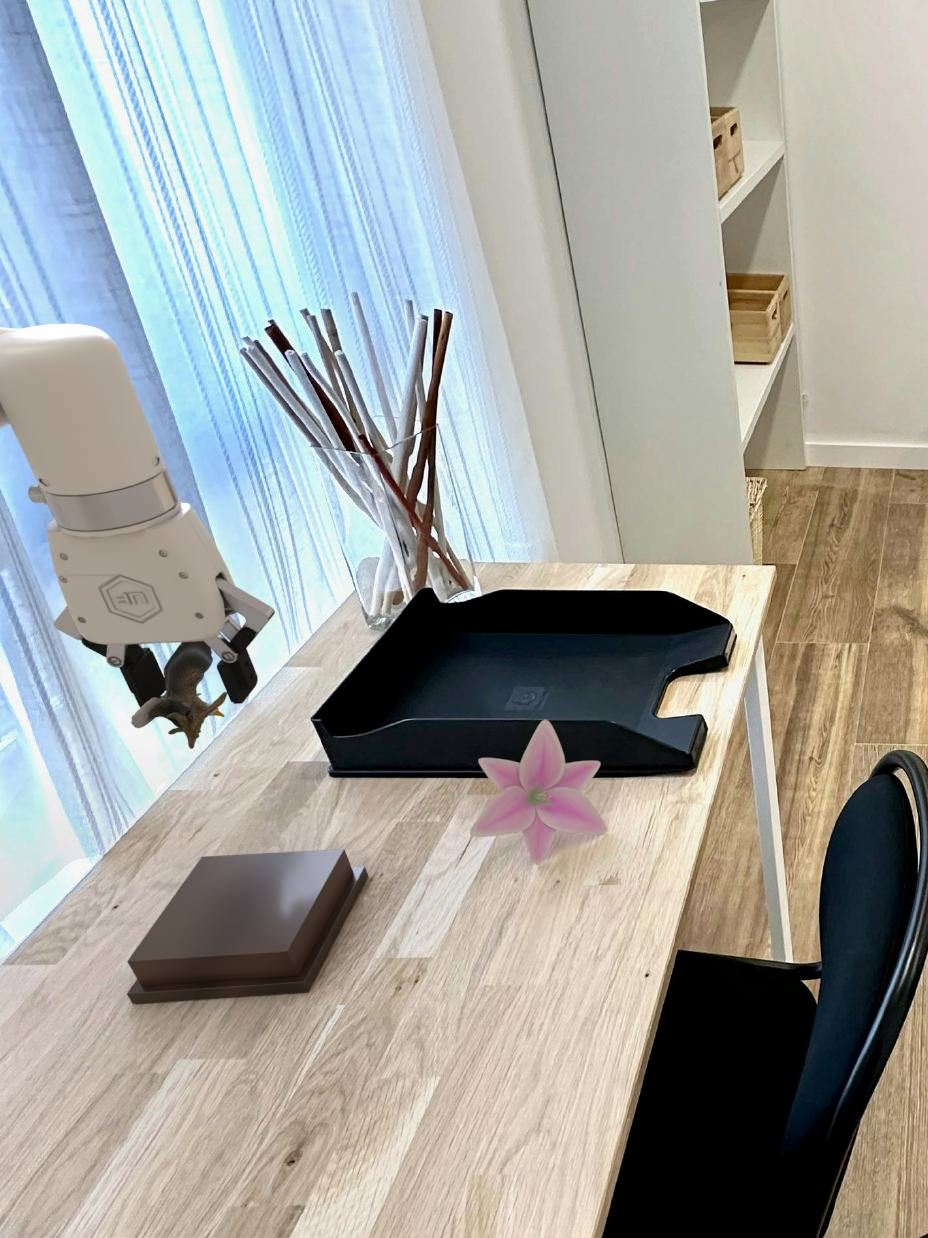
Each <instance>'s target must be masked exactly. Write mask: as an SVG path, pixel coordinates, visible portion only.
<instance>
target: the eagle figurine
mask: <svg viewBox="0 0 928 1238" xmlns="http://www.w3.org/2000/svg"><path fill="white" fill-rule="evenodd" d="M212 652H213V650H212V649H211V648H210V647H209V646H208V645H207V644H206V643H205V642H204V641H196V642H180V644H179V645H178V647H177V648H176V649H175V650H174V652H173V654H171V656H170V657H169V659H168V660H167V663H165V665H164V667H163V672H162V673H163V676H164V678H165V684H166V691H165V692H164V694H162V695H161V696H160V698H156V697H154V698H151V699H150V700H149V701H147V702H146V703H145V704H144V705H143V706H142V707H141V708H140V707H139V709H137V711H136V712H135V713H134V714H133V715H132V716H131V723H130V724H131V725H132V726H133V727H134V728H135V729H142V728H144V727H146V726H147V725H149V724H150V723H151V722H152V721H154V720H155V719H156V718H164V719H166V720H168V721H170V722H171V723H172V724H173V726H175V727H174V728H172V729H170V730H168V731H167V734H168V735H170V736H171V735H175V734H176V733H184V736H185V738H186V740H187V745H188V748H189V749H190V750H193V749H194V748H195V744H196V742H197V739H199V737H200V733H201V732H202V730H201V729H202V725H203V724H204V723H205V720H206V719H207V718H208V717H214V716H216V717H222V718H225V714H224V713H223V712H221V711H220V710H219V708H220V707H221V706H222V705H223V704H224V703H225V701H226V698H227V696H228V694H227V691H223V692H222V693H221V694H220V695H219V696H218V698H216V699H215V700H213V702H212V703H210V702H209V703H208V702H206V701H204V700H203V699H201V698H200V697H199V696H201V695H202V693H201V692H198V691H197V687H198V685H199V684H200V683H201V681H203V679H204V677H205V673H206V672H208V671H209V669H210V668H211V666H212V664H213V663H214V662H213V661H214V657H213V656H212V654H213V653H212Z"/></svg>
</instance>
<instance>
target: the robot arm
mask: <svg viewBox="0 0 928 1238" xmlns="http://www.w3.org/2000/svg"><path fill="white" fill-rule="evenodd" d="M146 415H147V414H146V412H145V410H144V408H143V405H142V403H141V400H140V398H139V395H138V393H137V391H136V388H135V385H134V383H133V379H132V378H131V376H130V373H129V371H128V368H127V365H126V363H125V360H124V358H123V355H122V354H121V351H120V349H119V347H118V345H117V343H116V342H115V340H114V339H113V338H112V337H111V336H110V335H109V334H108V333H107V332H105V331H104V330H102V329H99V328H97V327H95V326H91V325H86V324H78V323H77V324H76V323H75V324H74V323H53V324H42V325H34V326H33V325H32V326H28V327H23V328H13V327H12V328H11V327H2V326H0V429H2V428H4V427H6V426H8V425H10V427H11V429H12V431H13V433H14V436H15V438H16V439H17V441H18V444H19V446H20V448H21V450H22V452H23V454H24V456H25V458H26V461H27V463H28V465H29V468H30V469H31V471H32V473H33V476H34V478H35V479H36V482H37V484H32V485H30V486H29V488H28V489H27V490H28V491H27V495H28V498H29V500H30V501H31V502H32V503H34V504H44V505H47V507H48V509H49V512H50V513H51V514H52V517H53V518H54V519H53V520H51V521H50V522H48V523H47V524H46V535H47V541H48V547H49V553H50V557H51V558H50V559H51V561H52V566H53V570H54V572H55V576H56V579H57V582H58V585H59V588H60V590H61V593H62V596H63V599H64V601H65V604H66V606H65V608H63V610H62V611H61V612H60V614H59V615H58V616H57V618H56V619H55V620H54V622H53V626H54V628H55V629H57V630H58V631H60V632H62V633H63V634H65V635H67V636H69V637H71V638H73V639H75V640H76V641H81V644H82V646H84V647H85V648H86V649H89V650H91V651H93V652H94V653H96V654H98V655H100V656H102V657H104V658H105V660H106V663H107V664H108V666H111V667H112V668H115V669H116V668H117V669H119V670H120V673H121V674H122V677H123V679H124V681H125V683H126V685H127V688H128V690H129V691H130V693H131V694H133V697H134V699H135V701H136V703H137V705H138V706H139V709H140V708H141V707H142V706H143V705H144V704H145V703H146V702H147V701H149V700H150V699H151V698H154V697H156V698H160V696H163V695H164V694H165V693H166V684H165V678H164V672H162V669H161V667H160V665H159V664H160V663H158V660H157V658H156V655H155V653H154V652H153V651H152V650H151V648H150V647H142V645H146V644H147V645H149V644H175V643H181V642H196V641H204V642H205V643H206V644H207V645H208V646H209V647H210V648H211V651H212V652H213V653H214V654H215V655H217V656H218V657H219V659H220V660H219V662H218V663H217V664H216V669H217V672H218V674H219V677H220V679H221V681H222V684H223V687H224V688H225V692H227V696H228V698H229V700H230V702H231V703H232V704H233V705H238V704H239V705H240V704H243V703H244V702H245V701H246V700H247V698H248V697H249V696H250V695H251V693H252V692H253V690H254V689H255V688H256V686H257V684H258V681H259V680H258V679H259V678H258V674H257V672H256V669H255V666H254V664H253V661H252V659H251V656H250V654H249V651H248V647H249V646H250V644H251V643H252V642H253V641H254V640H255V639H256V638H257V636H258V635H259V634H260V633H261V632H262V631H263V629H264V628H265V627H266V625H267V624H268V623H269V622H270V620H271V619H272V618H273V617H274V615H275V614H276V613H275V612H276V611H275V609H274V607H272V606H271V605H269V604H267V603H265V602H263V601H262V600H260V599H259V598H257V597H255V596H253V595H251V594H250V593H249V592H246V591H245V590H243V589H242V588H239V587H238V586H236V584H235V582H234V579H233V577H232V575H231V572H230V570H229V568H228V565H227V564H226V562H225V560H224V558H223V556H222V553H221V552H220V551H219V548H218V546H217V544H216V543H215V541H214V539H213V537H212V536H211V534H210V533H209V531H208V529H207V527H206V526H205V525H204V523H203V522H202V520H201V519H200V517H199V516H198V514H197V513H196V511H195V510H194V508H193V507H192V506H191V504H190V503H188V502H182V501H181V500H180V497H179V496H178V493H177V490H176V488H175V485H174V483H173V481H172V478H171V475H170V473H169V470H168V468H167V466H166V463H165V460H164V458H163V456H162V452H161V450H160V448H159V446H158V442H157V440H156V438H155V436H154V433H153V430H152V428H151V425H150V422H149V420H148V418H147V416H146ZM236 613H237V614H239V615H241V616H242V617H244V619H245V622H244V624H243V625H242V626H240V625H239V624H238V623H237V621H235V619H233V617H231V616H232V615H234V614H236ZM227 639H228V640H229V641H228V640H227Z"/></svg>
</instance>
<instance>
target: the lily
mask: <svg viewBox="0 0 928 1238" xmlns="http://www.w3.org/2000/svg"><path fill="white" fill-rule="evenodd" d="M478 764H479V766H480V768H481V769H482V771H483V772H484V774H485V775H486V777H487V778H488V779H489V781H490V782H491V783H492V784H493V785H494V786H495V788H496V789H497V790H498V791H499V793H498V794H497V795H496V796H495V797H494V799H492V801H491V802H490V803H489V804H488V805H487V807H486V808H485V809H484V810H483V811H482V813H480V815H479V816H478V818H477V819H476V820H475V822H474V823H473V825H472V826H471V828H470V830H469V835H470V836H471V837H474V838H486V837H497V836H503V835H504V836H505V835H511V834H516V833H519V832H522V836H523V839H524V842H525V845H526V848H527V851H528V852H529V855H530V858H531V859H532V861H533V863H534V864H535V865H536V866H540V865H541V863H543V860H544V859H546V856H547V854H548V852H549V851H550V848H551V846H552V843H553V842H554V839H555V835H556V833H557V831H559V832H563V833H569V834H570V833H571V834H580V835H591V836H601V835H605V834H607V833H608V827H607V825H606V823H605V820H604V819H603V817H602V816H601V814H600V812H599V811H598V810H597V809H596V807H595V806H594V804H593V803H592V802H591V801H590V799H589V798H588V797H587V796H586V795H585V794H584V793H582V791H583V789H585V788H586V786H588V784H589V783H590V782H591V780H592V779H593V778H594V777H595V775H596V773H597V772H598V771H599V769H600V767H601V761H599V760H580V761H572V762H566V758H565V754H564V751H563V748H562V745H561V742H560V740H559V737H558V734H557V733H556V730H555V728H554V726H553V724H552V723H551V722H550V721H549V720H548V719H546V718H545V719H542V720H541V721H540V723H539V724H538V726H537V727H536V728H535V730H534V733H533V735H532V737H531V738H530V739H529V742H528V744H527V746H526V749H525V750H524V752H523V755H522V757H521V760H520V761H519V762H517V761H514V760H511V759H510V760H509V759H502V758H496V757H495V758H494V757H481V758H480V757H479V758H478Z"/></svg>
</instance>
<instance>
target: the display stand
mask: <svg viewBox="0 0 928 1238" xmlns="http://www.w3.org/2000/svg"><path fill="white" fill-rule="evenodd" d="M368 878H369V874H368V871H367V868H366V866H352V865H351V862H350V860H349V858H348V855H347V852H346V850H345V848H339V849H321V850H320V849H318V850H302V851H283V852H264V853H246V854H227V855H226V854H225V855H209V856H201V857H200V858H199V860H198V861H197V863H196V864H195V866H194V867H193V868H192V870H191V871H190V873H189V874H188V875H187V877H186V878H185V880H184V881H183V882H182V884H181V885H180V886H179V888H178V890H177V891H176V892H175V893H174V895H173V896H172V898H171V899H170V901H169V902H168V904H167V905H166V906H165V907H164V909H163V911H162V912H161V913H160V914H159V916H158V918H157V919H156V920H155V922H154V923H153V924H152V926H151V927H150V929H149V930H148V931H147V933H146V934H145V936H144V937H143V938H142V940H141V941H140V942H139V944H138V945H137V946H136V948H135V950H134V951H133V953H132V954H131V955H130V957H129V958H128V960H127V964H128V966H129V967H130V969H131V971H132V972H133V974H134V976H135V978H136V980H135V981H134V982H133V984H132V985H131V987H130V988H129V990H128V991H127V993H126V996H127V997H128V998H129V1000H130V1002H131V1004H132V1005H140V1004H153V1003H169V1002H182V1001H183V1002H185V1001H198V1000H199V1001H200V1000H213V999H227V998H241V997H242V998H244V997H257V996H258V997H260V996H273V995H286V994H287V995H289V994H303V993H309V992H310V991H311V988H312V987H313V984H314V983H315V981H316V979H317V978H318V975H319V973H320V971H321V969H322V967H323V965H324V963H325V961H326V960H327V957H328V956H329V954H330V952H331V950H332V948H333V946H334V944H335V942H336V941H337V939H338V936H339V934H340V932H341V930H342V929H343V926H344V924H345V923H346V921H347V919H348V917H349V915H350V913H351V911H352V909H353V907H354V905H355V903H356V901H357V899H358V897H359V896H360V894H361V892H362V890H363V888H364V886H365V884H366V882H367V880H368Z"/></svg>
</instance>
